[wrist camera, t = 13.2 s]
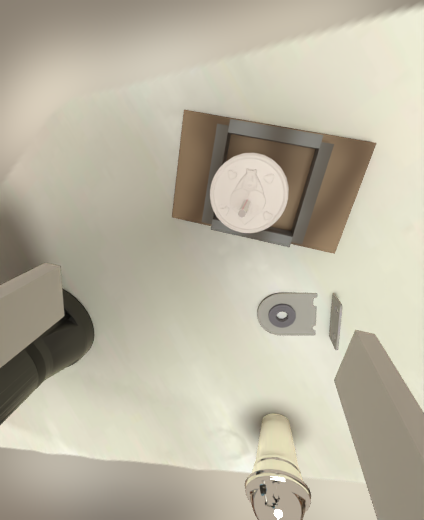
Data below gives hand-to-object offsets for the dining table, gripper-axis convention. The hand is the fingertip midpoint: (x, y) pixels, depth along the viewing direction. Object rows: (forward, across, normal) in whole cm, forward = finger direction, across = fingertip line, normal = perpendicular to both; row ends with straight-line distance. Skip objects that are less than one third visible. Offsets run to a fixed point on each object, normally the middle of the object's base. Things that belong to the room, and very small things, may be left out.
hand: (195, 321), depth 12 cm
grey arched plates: (+24, +11, -12) cm, 29 cm away
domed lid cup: (+24, +12, -33) cm, 42 cm away
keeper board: (+23, +2, +4) cm, 24 cm away
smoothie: (+22, +1, +4) cm, 23 cm away
